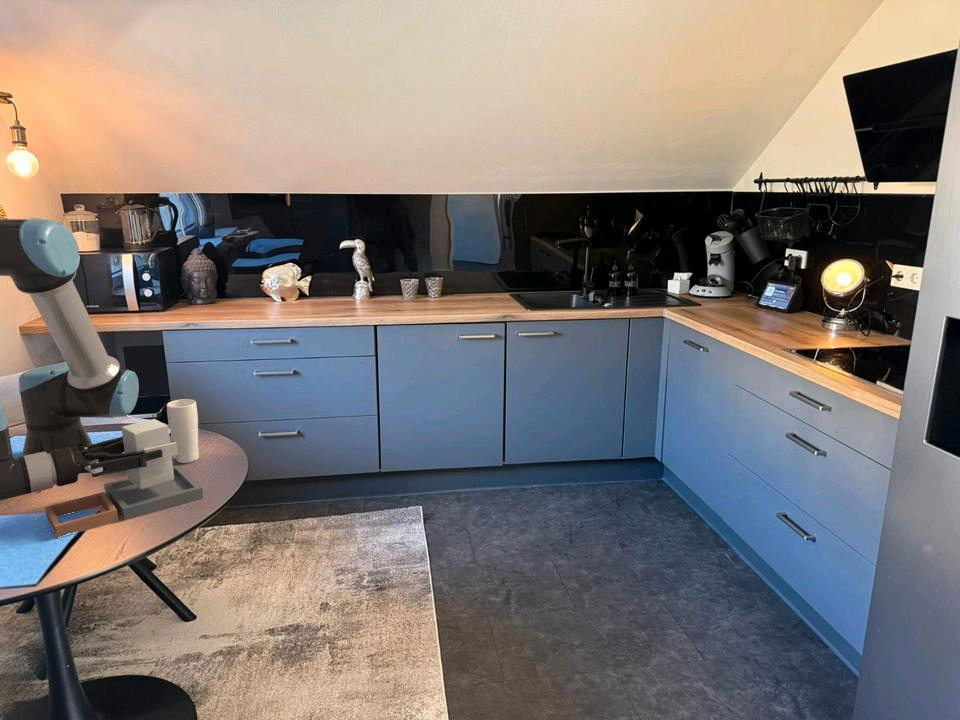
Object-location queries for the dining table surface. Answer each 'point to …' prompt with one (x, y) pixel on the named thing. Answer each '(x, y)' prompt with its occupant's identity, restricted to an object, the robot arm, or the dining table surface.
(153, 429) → the supplement box
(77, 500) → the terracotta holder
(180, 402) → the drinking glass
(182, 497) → the charcoal tray
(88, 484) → the dining table surface
